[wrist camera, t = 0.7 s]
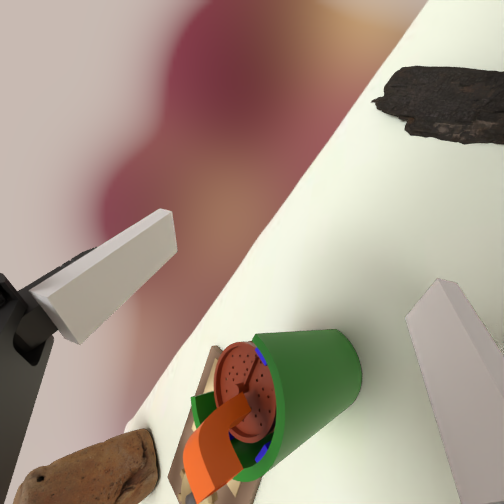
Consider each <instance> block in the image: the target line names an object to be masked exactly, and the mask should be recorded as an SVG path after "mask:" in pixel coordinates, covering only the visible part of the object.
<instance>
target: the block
mask: <svg viewBox="0 0 504 504" xmlns="http://www.w3.org/2000/svg"><path fill="white" fill-rule="evenodd" d="M157 479H158V473H157V467H156V455H155V450H154V445H153V441H152V438H151V436H150V434H149V432H148V431H147V430H146V429H139V430H135V431H131V432H128V433H124V434H121V435H119V436H116V437H113V438H110V439H108V440H106V441H105V442H103V443H98V444H95V445H92V446H89V447H87V448H84V449H82V450H79V451H77V452H74V453H72V454H70V455H67V456H65V457H63V458H61V459H58V460H56V461H54V462H53V463H51V464H50V465H48V466H42V467H38V468H36V469H34V470H33V471H31V472H30V473H29V474H28V475H27V476H26V478H25V480H24V482H23V483H22V484H21V485H20V486H19V488H18V490H17V493H16V496H15V498H14V502H13V504H138V503H139V502H141V501H142V500H143V499H144V498H146V497H147V496H148V495H149V494H150V493H151V492H152V491H153V489H154V488H155V486H156V483H157Z"/></svg>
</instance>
